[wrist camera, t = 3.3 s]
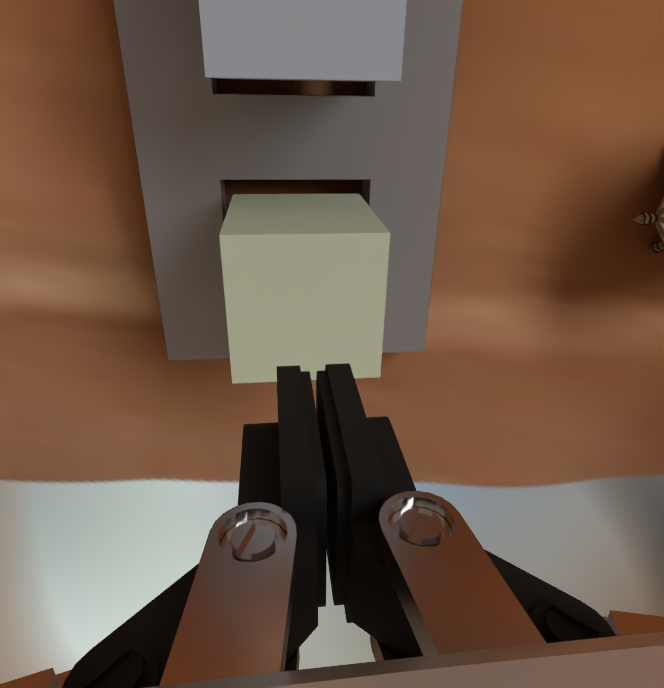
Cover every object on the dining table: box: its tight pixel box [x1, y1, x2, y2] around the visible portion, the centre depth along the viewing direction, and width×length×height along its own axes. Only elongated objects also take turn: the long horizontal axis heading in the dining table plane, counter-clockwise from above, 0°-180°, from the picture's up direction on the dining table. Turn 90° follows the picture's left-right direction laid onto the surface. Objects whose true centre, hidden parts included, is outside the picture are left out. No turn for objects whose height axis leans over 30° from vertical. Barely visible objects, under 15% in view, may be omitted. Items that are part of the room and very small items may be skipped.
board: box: [113, 0, 463, 361], centre depth 18 cm, size 28×12×2 cm, turn 179°
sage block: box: [219, 194, 390, 384], centre depth 18 cm, size 5×5×6 cm
